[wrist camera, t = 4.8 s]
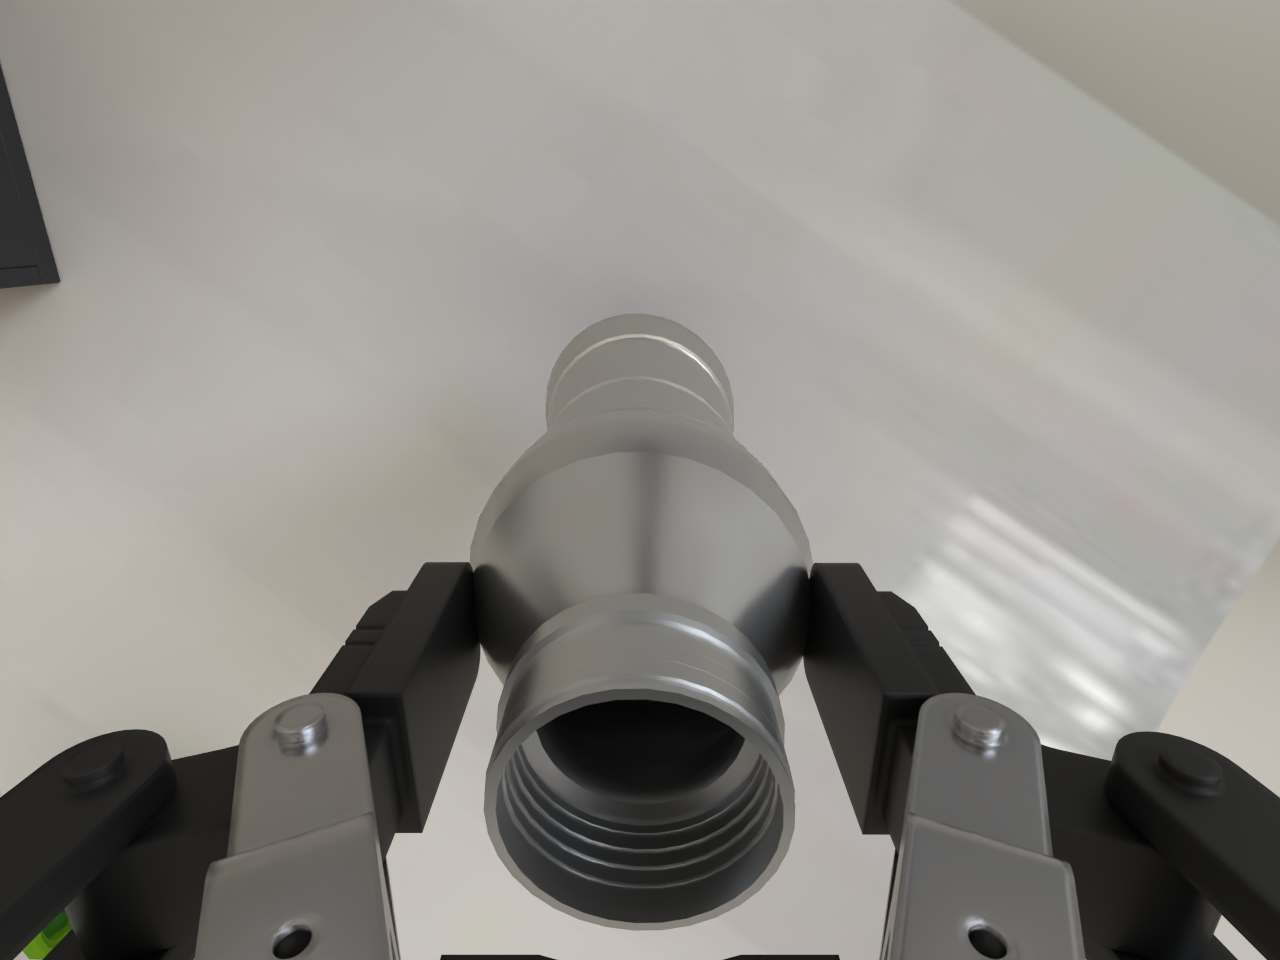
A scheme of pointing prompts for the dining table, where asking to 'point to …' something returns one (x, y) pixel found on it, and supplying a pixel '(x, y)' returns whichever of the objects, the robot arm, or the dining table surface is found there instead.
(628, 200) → the dining table surface
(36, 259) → the trash bin
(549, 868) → the plastic bottle
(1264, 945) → the robot arm
